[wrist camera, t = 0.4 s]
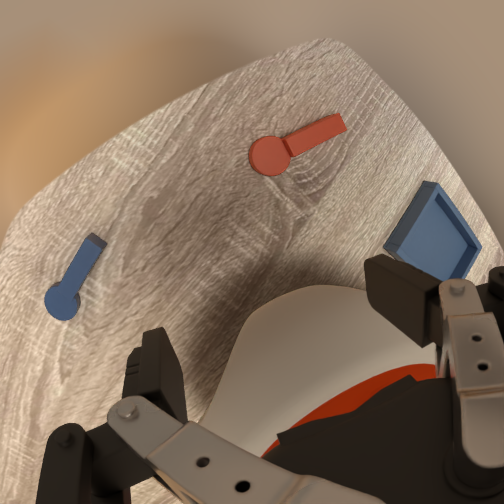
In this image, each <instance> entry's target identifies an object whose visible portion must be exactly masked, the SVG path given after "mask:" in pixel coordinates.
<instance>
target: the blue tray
mask: <svg viewBox="0 0 504 504" xmlns="http://www.w3.org/2000/svg"><path fill="white" fill-rule="evenodd" d="M383 247H384V248H385V249H386V250H387V251H388V252H389V253H390V254H391V255H392V256H393V257H394V258H395V259H396V260H397V261H401V262H406V263H409V264H411V265H413V266H415V267H416V268H419V269H421V270H423V272H426V273H428V274H430V275H432V276H434V277H436V278H438V279H440V280H442V281H443V282H444V281H446V280H448V279H454V278H461V279H465V278H466V276H467V274H468V272H469V271H470V269H471V267H472V265H473V264H474V262H475V260H476V258H477V256H478V254H479V253H480V251H481V249H482V246H481V244H480V242H479V241H478V239H477V238H476V236H475V234H474V233H473V231H472V230H471V228H470V227H469V225H468V224H467V222H466V221H465V219H464V218H463V216H462V215H461V214H460V212H459V211H458V209H457V208H456V206H455V205H454V204H453V202H452V201H451V199H450V198H449V197H448V195H447V194H446V193H445V191H444V190H443V189H442V187H441V186H440V185H439V183H435V182H429V181H424V182H423V184H422V185H421V187H420V189H419V190H418V192H417V194H416V196H415V197H414V199H413V201H412V202H411V204H410V205H409V207H408V209H407V210H406V212H405V214H404V215H403V217H402V218H401V220H400V222H399V223H398V225H397V226H396V228H395V230H394V231H393V233H392V234H391V236H390V237H389V239H388V240H387V242H386V243H385V245H384V246H383Z"/></svg>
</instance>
